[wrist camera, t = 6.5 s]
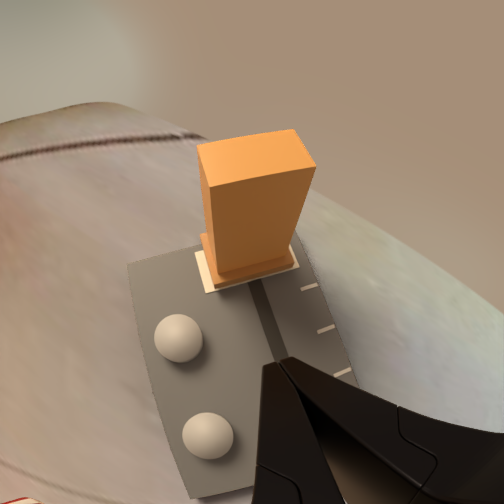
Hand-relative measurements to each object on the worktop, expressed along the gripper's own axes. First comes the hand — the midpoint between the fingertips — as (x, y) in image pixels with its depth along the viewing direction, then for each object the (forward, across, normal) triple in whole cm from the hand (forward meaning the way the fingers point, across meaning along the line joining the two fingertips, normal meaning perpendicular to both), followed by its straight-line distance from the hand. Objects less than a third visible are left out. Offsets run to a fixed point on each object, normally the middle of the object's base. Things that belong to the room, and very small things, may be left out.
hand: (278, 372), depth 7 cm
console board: (+9, 0, +7) cm, 11 cm away
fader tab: (+13, -2, +1) cm, 13 cm away
